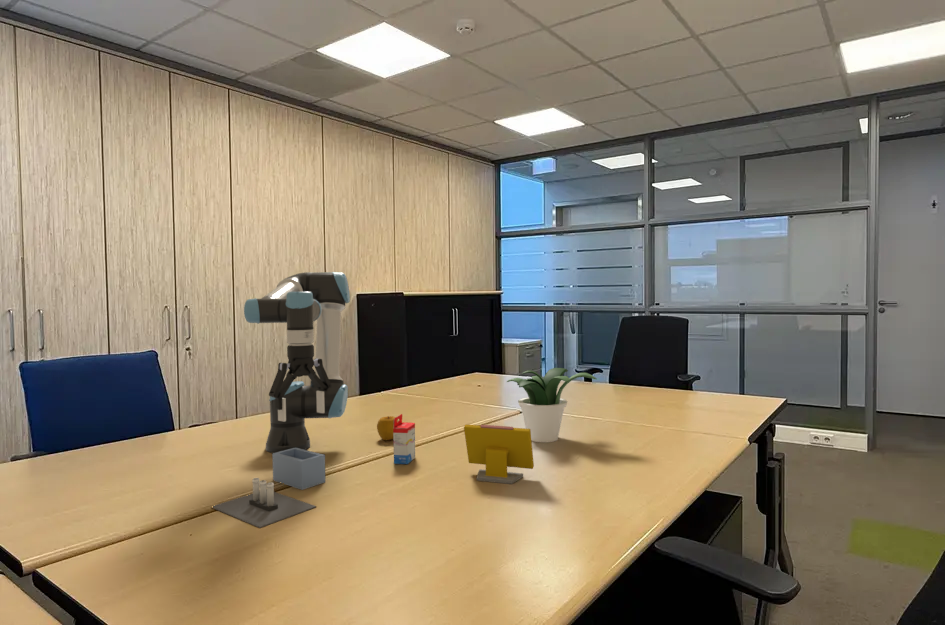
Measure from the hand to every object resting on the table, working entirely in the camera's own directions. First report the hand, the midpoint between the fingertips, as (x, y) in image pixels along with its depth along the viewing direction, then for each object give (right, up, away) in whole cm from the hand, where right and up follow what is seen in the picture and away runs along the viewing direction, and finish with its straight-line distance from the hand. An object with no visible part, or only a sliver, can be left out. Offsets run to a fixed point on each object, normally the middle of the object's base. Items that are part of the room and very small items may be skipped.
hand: (302, 416), depth 166 cm
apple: (+18, -18, +47) cm, 53 cm away
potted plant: (+79, -17, +46) cm, 93 cm away
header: (-4, -20, -20) cm, 28 cm away
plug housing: (-1, -19, 0) cm, 19 cm away
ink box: (+28, -18, +20) cm, 39 cm away
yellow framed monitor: (+57, -19, +1) cm, 60 cm away
